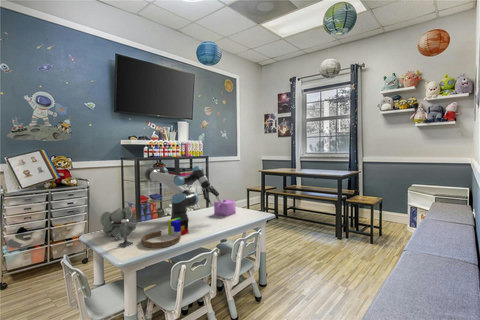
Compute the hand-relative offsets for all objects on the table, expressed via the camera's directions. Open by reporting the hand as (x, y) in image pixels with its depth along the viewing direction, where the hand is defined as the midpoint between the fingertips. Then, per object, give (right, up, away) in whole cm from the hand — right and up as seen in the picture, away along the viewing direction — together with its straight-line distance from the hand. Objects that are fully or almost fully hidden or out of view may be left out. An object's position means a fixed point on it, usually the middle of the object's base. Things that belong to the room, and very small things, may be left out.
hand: (216, 204), depth 214 cm
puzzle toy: (-25, -17, -26) cm, 40 cm away
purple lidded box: (+6, -14, +30) cm, 33 cm away
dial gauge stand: (-52, -18, -47) cm, 73 cm away
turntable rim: (-34, -17, -43) cm, 57 cm away
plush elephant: (-67, -18, -27) cm, 75 cm away
